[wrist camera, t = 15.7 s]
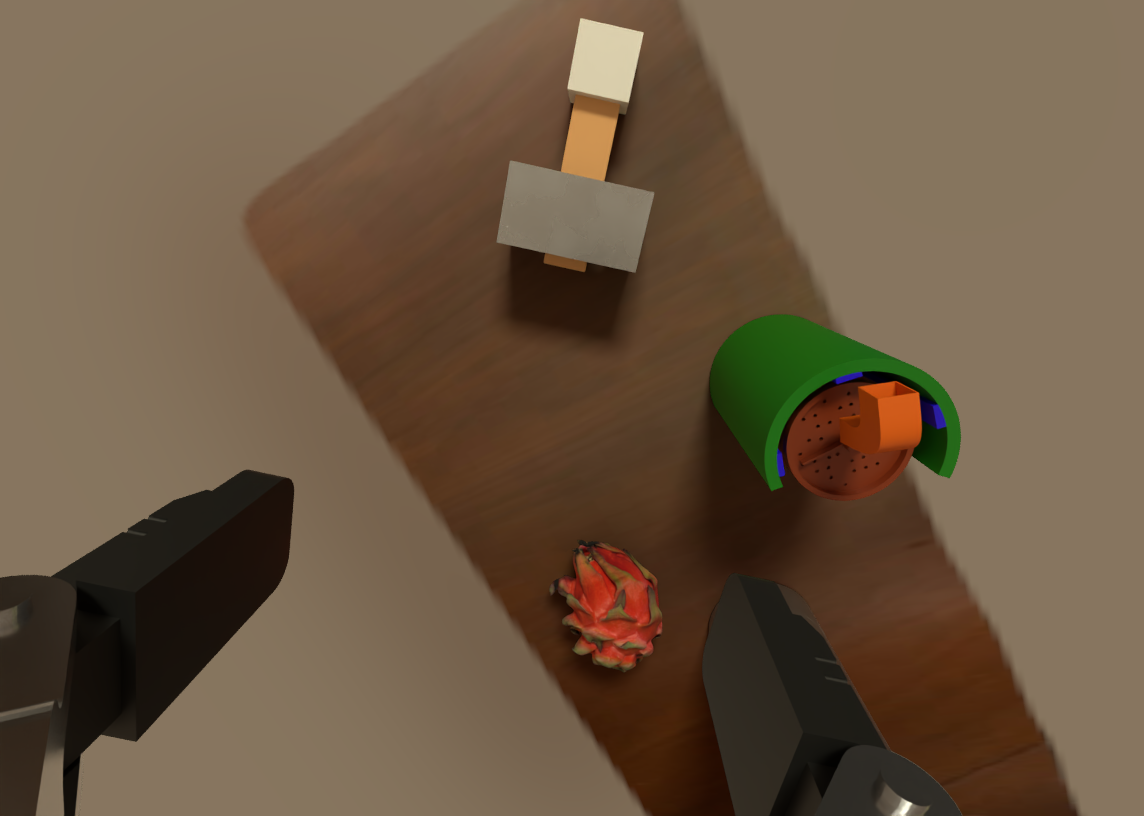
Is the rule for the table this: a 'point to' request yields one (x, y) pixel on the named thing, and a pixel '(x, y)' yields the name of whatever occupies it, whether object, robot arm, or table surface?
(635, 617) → the dragon fruit
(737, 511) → the table surface
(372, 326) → the table surface
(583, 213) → the block
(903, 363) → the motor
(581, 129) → the plug
